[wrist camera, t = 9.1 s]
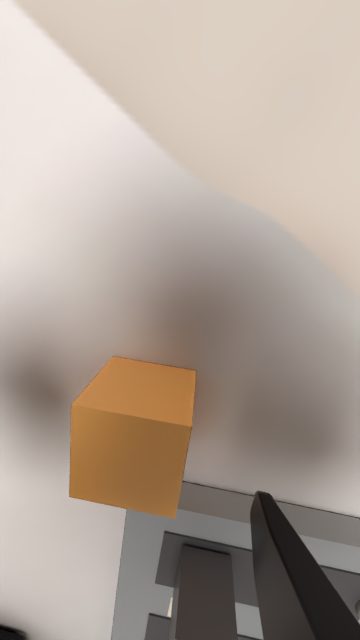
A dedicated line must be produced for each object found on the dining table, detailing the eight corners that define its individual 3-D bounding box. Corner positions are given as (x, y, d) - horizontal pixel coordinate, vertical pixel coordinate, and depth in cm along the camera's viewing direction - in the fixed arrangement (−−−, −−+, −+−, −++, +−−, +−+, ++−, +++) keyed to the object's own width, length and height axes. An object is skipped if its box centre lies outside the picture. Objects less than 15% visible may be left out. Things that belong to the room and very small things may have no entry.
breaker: (173, 585, 14) (163, 695, 10) (182, 545, 13) (173, 651, 9) (219, 595, 13) (223, 711, 10) (231, 555, 13) (239, 667, 9)
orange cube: (108, 425, 13) (69, 497, 10) (113, 355, 12) (71, 404, 9) (184, 440, 13) (175, 518, 9) (196, 370, 12) (191, 426, 8)
